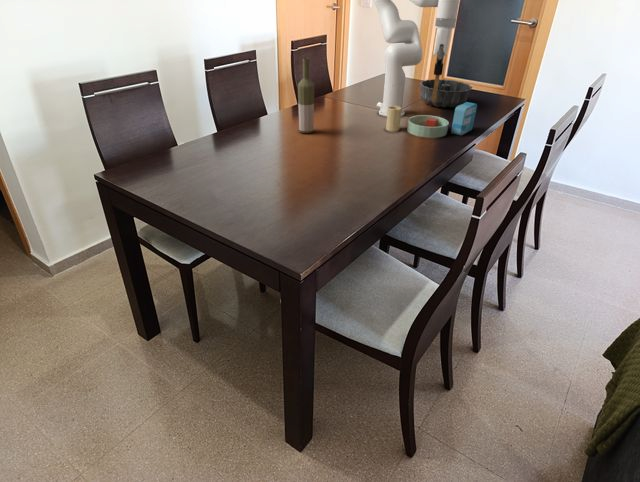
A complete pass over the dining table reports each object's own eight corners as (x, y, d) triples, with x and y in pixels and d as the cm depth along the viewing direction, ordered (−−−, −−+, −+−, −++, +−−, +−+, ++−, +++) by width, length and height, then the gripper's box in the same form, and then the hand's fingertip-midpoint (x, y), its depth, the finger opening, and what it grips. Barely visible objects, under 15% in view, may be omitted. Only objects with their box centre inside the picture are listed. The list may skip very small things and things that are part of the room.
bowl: (399, 132, 188) (400, 120, 186) (420, 123, 199) (422, 112, 196) (433, 141, 178) (435, 130, 176) (454, 132, 189) (456, 121, 186)
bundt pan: (474, 102, 231) (478, 83, 226) (459, 114, 212) (463, 93, 207) (427, 95, 243) (430, 76, 237) (409, 105, 224) (412, 85, 219)
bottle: (317, 131, 187) (318, 58, 171) (306, 135, 183) (305, 60, 166) (306, 128, 191) (305, 56, 175) (294, 131, 187) (293, 58, 170)
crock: (383, 130, 190) (385, 107, 185) (390, 127, 193) (393, 105, 188) (393, 133, 187) (396, 110, 181) (401, 130, 190) (404, 107, 185)
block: (433, 130, 189) (435, 121, 187) (425, 128, 191) (426, 119, 189) (437, 127, 192) (438, 119, 190) (428, 126, 194) (429, 117, 192)
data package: (460, 137, 184) (465, 108, 177) (450, 134, 186) (455, 106, 180) (472, 130, 191) (477, 103, 185) (462, 128, 194) (468, 101, 187)
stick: (431, 101, 178) (437, 60, 170) (431, 100, 180) (437, 59, 171) (435, 101, 178) (441, 60, 170) (435, 100, 179) (441, 60, 171)
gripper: (436, 21, 171) (429, 70, 180) (434, 25, 158) (427, 77, 168) (455, 21, 169) (447, 71, 179) (455, 26, 156) (446, 78, 166)
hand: (437, 73), depth 173 cm, fingers closed on stick, 1 cm apart
